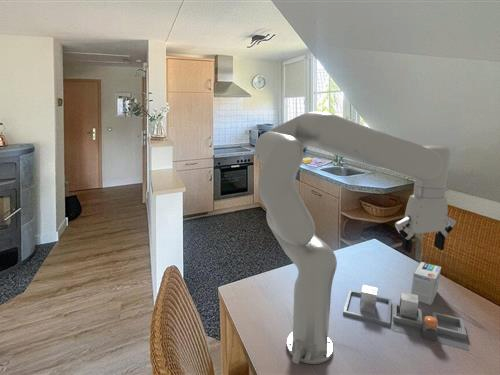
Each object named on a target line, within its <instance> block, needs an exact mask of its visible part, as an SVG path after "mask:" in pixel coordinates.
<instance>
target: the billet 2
mask: <svg viewBox="0 0 500 375" xmlns="http://www.w3.org/2000/svg"><path fill="white" fill-rule="evenodd" d="M399 304H400V305H399V317H402V318H406V319H410V320H414V321H416V316H417V309H419V308H418V307H419V301H418V295H414V294H411V293H408V292H404V291H401V295H400V299H399Z"/></svg>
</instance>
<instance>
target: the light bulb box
mask: <svg viewBox="0 0 500 375" xmlns="http://www.w3.org/2000/svg"><path fill="white" fill-rule="evenodd" d="M441 269H442V266H439V265H436V264H435V265H434V264H430V263H427V262H424V261H420V263H419V264H418V266H417V268H416V269H415V271H414V273H413V276H412V284H411V291H410V294H414V295H418V302H420V303H422V304H426V305H429V306H431V305H432V304H433V302H434V300H435V298H436V296H437V293H438V289H439V281H440V277H441V271H442V270H441Z"/></svg>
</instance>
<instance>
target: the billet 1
mask: <svg viewBox="0 0 500 375" xmlns="http://www.w3.org/2000/svg"><path fill="white" fill-rule="evenodd" d="M378 289H379V288H378V287H375V286H371V285H367V284H362V288H361V290H360V292H361V296H360V299H359V302H360V303H359V311H362V312H367V313H369V314H373V315H375V314H376V307H377V300H376V299H377V296H378Z"/></svg>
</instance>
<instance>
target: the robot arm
mask: <svg viewBox="0 0 500 375" xmlns="http://www.w3.org/2000/svg"><path fill="white" fill-rule="evenodd" d="M307 147H311V148H315V149H319V150H321V151H325V152H327V153H330V154H333V155H336V156H339V157H342V158H345V159H348V160H351V161H354V162H355V163H360V164H363V165H366V166H367V165H368V166H371V167H375V168H380V169H385V170H388V171H390V172H392V173H393V174H394V173H395V174H397V175H400V176H403V177H407V178H411V179H414V184H413V194H410V196H409V198H408V201H407V203H406V208H405V213H404V217H403V218H402V219H401V220H398V221H396V222H395V223H394V226H395V229H396V231H397V233H398V234H400V236H401V237H402V239H401V240H402V242H401V247H402V250H404V251H405V252H406V253H409V254H410V253H411V252H412V245H413V240H412V239H411V238H412V237H413V236H414V235H416V234H421V233H424V234H425V233H434V232H435V234H434V242H433V243H434V244H433V246H434V247H435V248H437V249H438V250H439V251H443V250H444V248H445V243H446V238H447V237H448V236H449V233H450V232H451V231H453V227H454V226H455V225H456V223H457V220H455V219H454V218H451V217H450V216H448V199H447V196H446V192H448V191H450V187H449V186H447V185H448V184H447V183H448V175H449V168H450V160H451V150H450V148H449V147H448V146H445V145H444V146H443V145H439V144H438V145H436V144H435V145H433V144H432V145H431V144H430V145H429V144H428V145H421V144H419V143H415V142H412V141H410V140H406V139H402V138H400V137H398V136H397V137H396V136H394V135H391V134H388V133H386V132H383V131H379V130H376V129H373V128H372V127H368V126H365V125H362V124H359V123H357V122H355V121H352V120H350V119H348V118H344V117H342V116H339V115H337V114H334V113H332V112H331V113H330V112H326V111H323V112H322V111H321V112H320V111H319V112H318V111H308V112H305V113H302V114H300V115H298V116H296V117H294V118H292V119H290V120H287V121H286V122H283V123H282V124H279V125H278V126H275V127H273V128H271V129H269V130H267V131H265V132H263V133H261V134H260V136H259V137H258V138H257V140H256V141H255V144H254V154H255V157H256V159H257V160H258V161H259V162H260V163H261V164H262V166H261V168H260V172H259V175H258V181H257V188H258V194H259V197H260V199H261V201H262V202H263V205H264V206H265V208H266V216H265V217H266V221H267V222H266V223H267V225H268V227H269V228H270V230H271V232H272V233H273V235H274V237H275V238H276V241H277V242H278V243H279V245H280V247H281V248H282V250H283V252H284V253H285V254H286V256H287V257H288V258H289V259H290V260H291V262H292V263H293V264H294V265H295V267H296V268H297V272H298V273H297V278H296V280H295V283H294V288H293V290H294V291H293V315H292V332H290V334H289V335H288V337H287V338H286V349H287V351H288V353H289V354H290V355H291V356H292V357H291V360H292V362H293V363H294V364H295V365H296V364H297V365H298V364H299V363H300V362H301V363H304V364H310V365H319V364H322V363H325V362H327V361H328V360H330V359H331V358H332V355H333V354H334V345H333V341H332V340H331V338H329V330H330V315H331V314H330V313H331V312H330V311H331V298H332V296H331V295H332V287H333V280H334V277H335V274H336V270H337V265H338V262H337V257H336V254H335V252H334V251H333V249H332V248H331V247H330V246H329V245H328V244H327V243H326V242H325V241H324V240H322V239H321V238H320V237H318V236H317V235H316V225H315V221H314V219H313V217H312V215H311V213H310V211H309V209H308V208H307V207H306V205H305V202H304V200H303V199H302V197H301V195H300V193H299V191H298V188H297V185H296V178H297V174H298V171H299V169H300V167H301V166H302V163H303V159H304V149H305V148H307Z"/></svg>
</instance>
